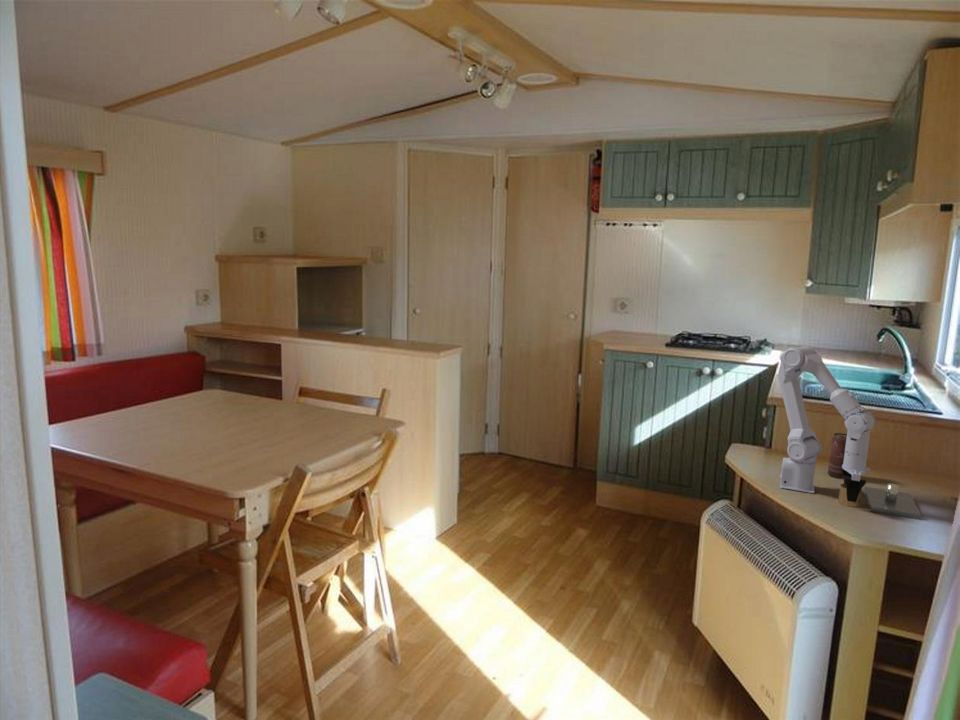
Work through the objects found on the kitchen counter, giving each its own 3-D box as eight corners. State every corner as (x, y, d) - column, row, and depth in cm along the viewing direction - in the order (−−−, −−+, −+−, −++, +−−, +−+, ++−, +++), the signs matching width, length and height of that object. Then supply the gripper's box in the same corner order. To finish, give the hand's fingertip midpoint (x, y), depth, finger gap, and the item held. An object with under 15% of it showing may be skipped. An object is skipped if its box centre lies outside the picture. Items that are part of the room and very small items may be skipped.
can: (849, 480, 210) (854, 439, 208) (827, 476, 213) (832, 435, 211) (849, 475, 215) (855, 434, 213) (827, 471, 218) (833, 431, 216)
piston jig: (870, 511, 185) (873, 491, 184) (863, 491, 201) (865, 472, 200) (920, 519, 180) (923, 499, 179) (908, 498, 196) (911, 479, 195)
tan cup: (839, 504, 189) (841, 488, 188) (837, 498, 194) (839, 482, 193) (860, 508, 187) (863, 491, 186) (858, 501, 192) (861, 485, 191)
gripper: (875, 461, 180) (868, 507, 182) (868, 447, 193) (863, 491, 195) (846, 457, 183) (840, 503, 185) (842, 444, 196) (836, 487, 198)
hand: (850, 496), depth 190 cm, fingers open, 7 cm apart
